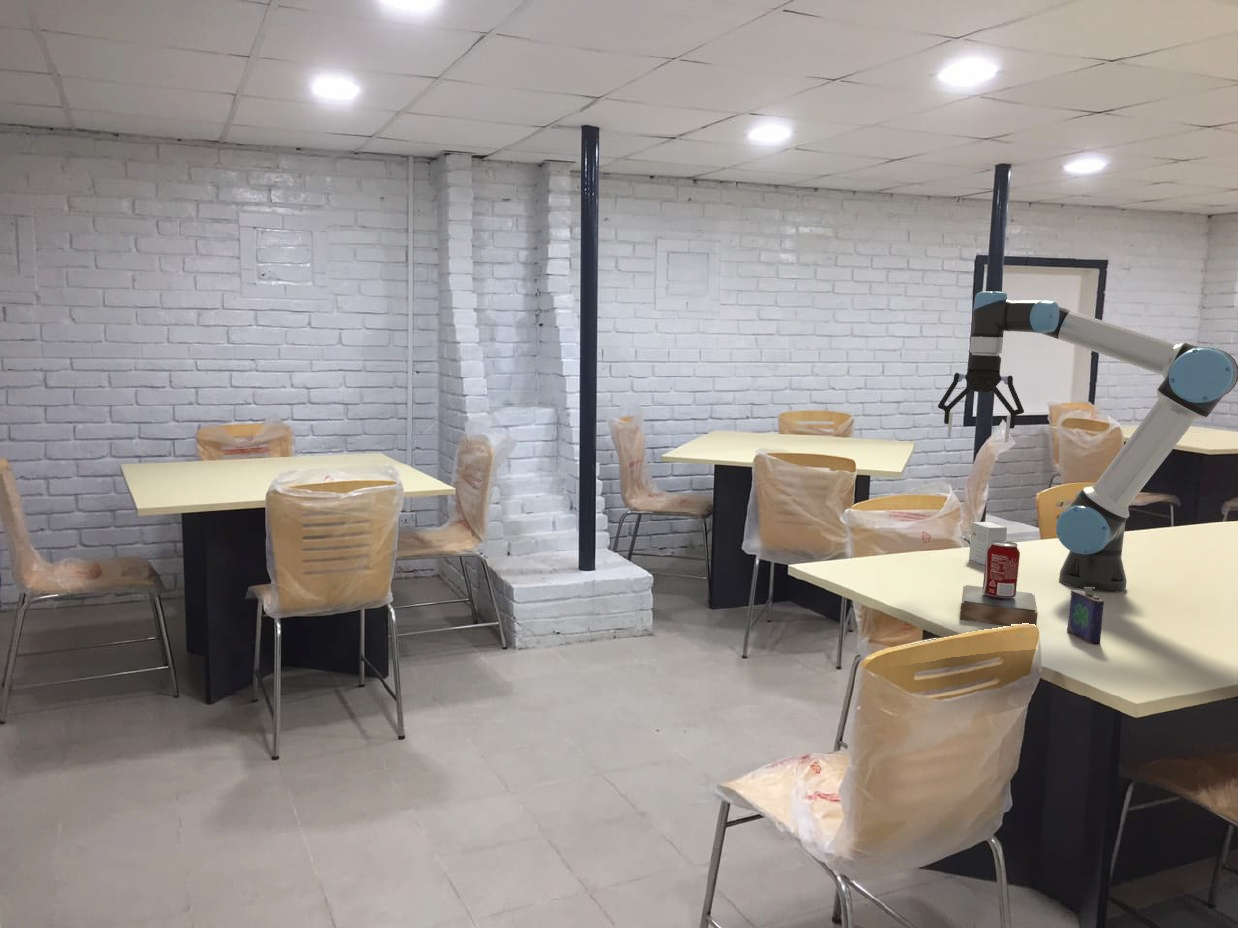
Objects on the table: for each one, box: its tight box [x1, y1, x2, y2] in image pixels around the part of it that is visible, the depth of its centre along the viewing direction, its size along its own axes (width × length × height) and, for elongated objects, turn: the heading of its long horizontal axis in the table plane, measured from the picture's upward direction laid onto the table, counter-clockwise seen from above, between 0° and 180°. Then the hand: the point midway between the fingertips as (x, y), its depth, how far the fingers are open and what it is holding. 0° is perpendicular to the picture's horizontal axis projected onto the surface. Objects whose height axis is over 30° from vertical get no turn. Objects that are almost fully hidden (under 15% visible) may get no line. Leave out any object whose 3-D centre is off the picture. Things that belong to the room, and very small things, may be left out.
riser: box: [959, 584, 1039, 626], centre depth 212 cm, size 15×16×4 cm
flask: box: [1066, 587, 1105, 646], centre depth 197 cm, size 9×3×11 cm, turn 8°
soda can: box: [982, 540, 1021, 600], centre depth 211 cm, size 7×7×12 cm
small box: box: [968, 521, 1008, 566], centre depth 262 cm, size 8×6×10 cm
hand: (977, 439), depth 244 cm, fingers open, 13 cm apart
